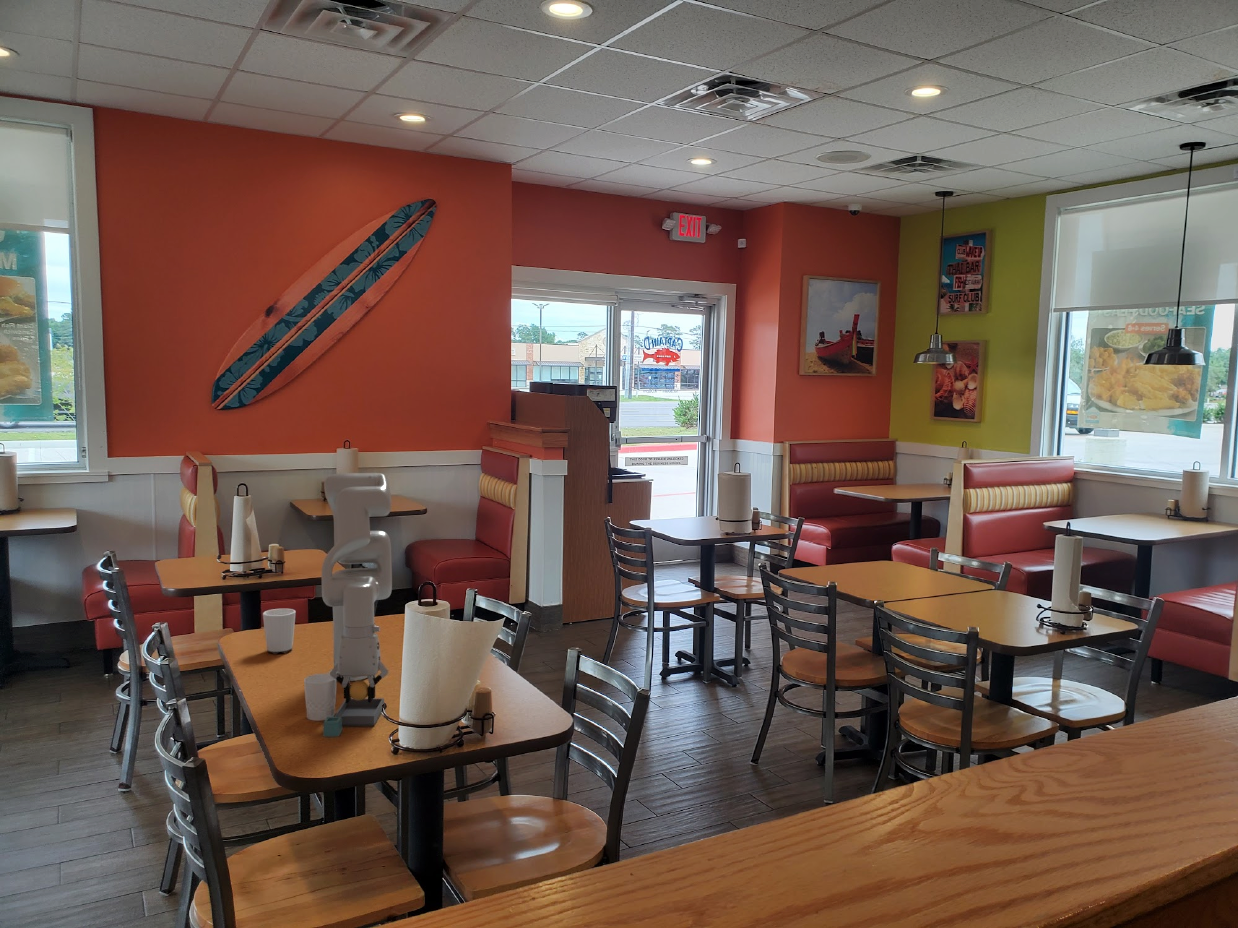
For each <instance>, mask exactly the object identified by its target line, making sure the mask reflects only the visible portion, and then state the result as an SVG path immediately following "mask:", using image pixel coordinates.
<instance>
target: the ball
mask: <svg viewBox="0 0 1238 928" xmlns="http://www.w3.org/2000/svg"><path fill="white" fill-rule="evenodd" d="M350 685H351V686H350V689H349V693H350V696H351V699H354V700H358V701H360V700H363V699H367V698H368V687H369V684H368V683H367V682H366V681H364V680H363V679H362V680H357V681H353V682H352V684H350Z"/></svg>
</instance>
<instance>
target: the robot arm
mask: <svg viewBox="0 0 1238 928" xmlns="http://www.w3.org/2000/svg"><path fill="white" fill-rule="evenodd" d="M323 489H324V494H325V497H326V501H327V503H328V506H329V508H330V510H331V513H332V517H333V540H334V541H333V547H331V549H330V550H329V551H328V552H327V554H326V556H325V557H324V560H323V562H322V566H321V575H320V576H321V596H322V597H321V598H322V600H323V603H324V604H325V605H326V606H327V607H332V618H333V619H332V622H333V623H332V629H333V630H332V631H333V632H332V633H333V636H332V637H333V638H332V639H333V668H331V669H330V670H329V671H328V673H327V674H330V675H331V676H332V677H333V678H335V679H336V680H337V681H336V682H338V683H339V684H340V685H341V688H343V699H344V700H345V699H346V703H348V702H349V701H350V700H351V699H352V697H351V696H350V693H349V689H350V686H351V685H352V684H351V683H350V682H355V681H359V680H362V681H363V680H365V679H367V681H368V683H369V684H368V685H369V687H368V696H367V699H368V702H369V703H371V702H372V700H373V698H376V685H377V684H378V683H379V682H380V681H381V680H382V679H384V678H385V677H386V676H387V675H389V671H390V670H389V669H388V668H387V667H386V666H385V665H384V663H383V662H382V660H381V647H380V640H379V636H378V634H377V633H378V632H380V631H381V626H380V625H379V626H377V625H376V623H375V602H376V601H379V600H380V601H381V600H386V599H388V598H390V596H391V594H392V591H393V571H392V570H393V569H392V568H393V567H392V544H391V538H390V536H389V534H388V533H387V532H386V531H384V530H371V524H370V523H371V522H370V518H371V517H373V518H374V517H386V516H389V514H390V512H391V509H392V494H391V490H390V486H389V481H388V478H387V476H386V475H385V474H383V473H381V472H380V473H379V472H344V473H342V472H340V473H335V474H330V475H328V476H327V477H325V479H324V483H323ZM337 563H339V564H342V565H356V564H357V565H359V564H374V565H375V567H357V568H343V569H339V570H337V571H334V572H333V570H334V566H336V564H337ZM379 671H380V673H379ZM378 673H379V674H378ZM376 675H377V676H376Z"/></svg>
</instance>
